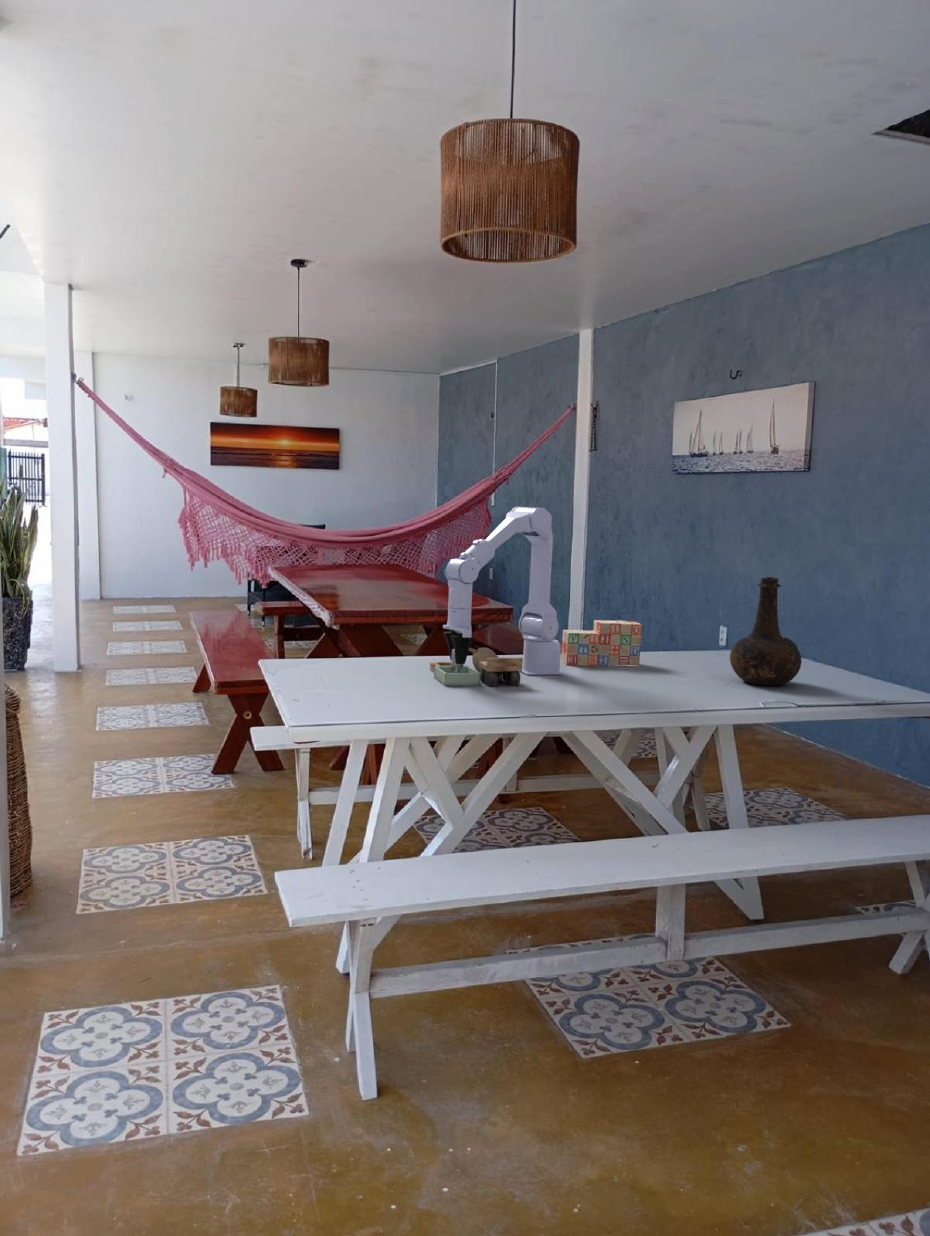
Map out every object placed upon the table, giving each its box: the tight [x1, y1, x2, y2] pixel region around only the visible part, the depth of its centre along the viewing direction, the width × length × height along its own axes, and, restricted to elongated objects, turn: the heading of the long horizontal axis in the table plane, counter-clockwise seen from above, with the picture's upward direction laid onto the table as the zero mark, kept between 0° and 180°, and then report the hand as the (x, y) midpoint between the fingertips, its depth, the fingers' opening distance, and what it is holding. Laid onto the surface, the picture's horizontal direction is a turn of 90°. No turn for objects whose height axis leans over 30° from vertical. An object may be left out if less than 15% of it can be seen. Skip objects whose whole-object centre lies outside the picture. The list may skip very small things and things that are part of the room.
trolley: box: [479, 657, 523, 687], centre depth 241 cm, size 9×8×7 cm
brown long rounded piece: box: [471, 646, 503, 679], centre depth 251 cm, size 15×7×7 cm, turn 13°
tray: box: [433, 665, 481, 687], centre depth 241 cm, size 9×10×3 cm
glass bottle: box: [729, 576, 802, 687], centre depth 255 cm, size 18×18×28 cm
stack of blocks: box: [560, 619, 643, 667], centre depth 275 cm, size 21×6×12 cm, turn 99°
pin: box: [450, 649, 464, 673], centre depth 241 cm, size 3×3×8 cm
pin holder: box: [429, 661, 451, 673], centre depth 254 cm, size 7×7×2 cm
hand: (457, 662), depth 241 cm, fingers open, 4 cm apart
